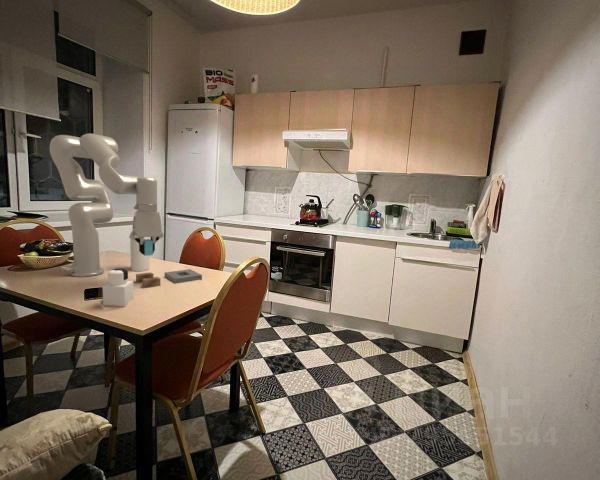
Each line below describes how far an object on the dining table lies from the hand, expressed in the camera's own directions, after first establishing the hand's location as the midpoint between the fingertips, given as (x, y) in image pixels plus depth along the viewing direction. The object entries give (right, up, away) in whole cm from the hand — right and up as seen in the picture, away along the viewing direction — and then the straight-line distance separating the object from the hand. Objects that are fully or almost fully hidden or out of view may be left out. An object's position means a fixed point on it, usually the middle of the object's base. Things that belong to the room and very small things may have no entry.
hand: (147, 252), depth 130 cm
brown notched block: (-1, -13, +2) cm, 14 cm away
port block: (+10, -12, +12) cm, 20 cm away
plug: (0, -1, 0) cm, 1 cm away
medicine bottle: (0, -17, -20) cm, 26 cm away
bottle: (-15, -9, +24) cm, 30 cm away
